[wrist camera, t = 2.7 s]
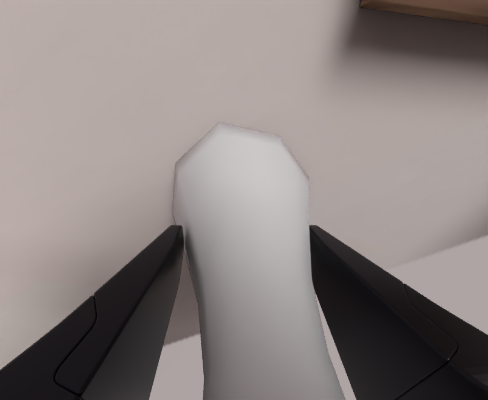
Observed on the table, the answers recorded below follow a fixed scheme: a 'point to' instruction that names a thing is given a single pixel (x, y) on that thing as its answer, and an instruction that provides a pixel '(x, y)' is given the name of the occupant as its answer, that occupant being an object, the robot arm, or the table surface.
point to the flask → (252, 268)
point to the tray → (436, 8)
